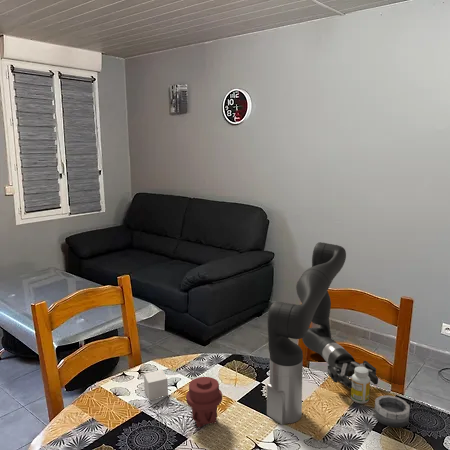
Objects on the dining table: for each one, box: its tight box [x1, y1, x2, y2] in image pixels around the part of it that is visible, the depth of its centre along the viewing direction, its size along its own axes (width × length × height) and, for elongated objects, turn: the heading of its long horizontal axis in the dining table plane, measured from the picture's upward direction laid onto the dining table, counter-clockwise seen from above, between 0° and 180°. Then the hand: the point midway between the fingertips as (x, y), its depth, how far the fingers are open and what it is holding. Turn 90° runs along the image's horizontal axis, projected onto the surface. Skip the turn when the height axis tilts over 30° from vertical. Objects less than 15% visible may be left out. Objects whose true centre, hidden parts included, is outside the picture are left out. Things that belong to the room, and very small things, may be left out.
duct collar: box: [374, 394, 411, 429], centre depth 119 cm, size 9×9×4 cm
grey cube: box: [143, 369, 169, 401], centre depth 132 cm, size 6×6×6 cm
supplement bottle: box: [350, 367, 371, 404], centre depth 128 cm, size 5×5×10 cm
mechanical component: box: [185, 376, 223, 428], centre depth 118 cm, size 12×10×10 cm
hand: (363, 383), depth 126 cm, fingers open, 8 cm apart
